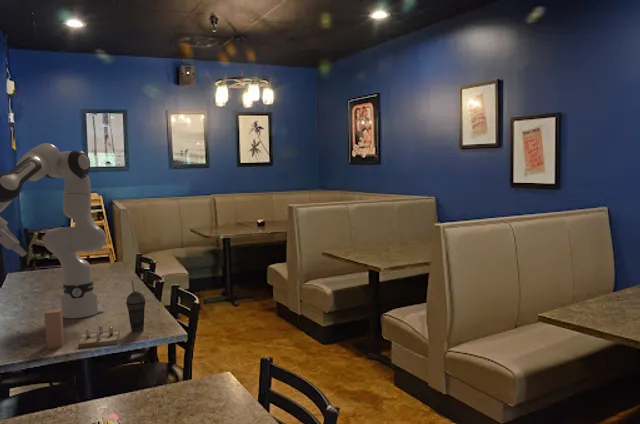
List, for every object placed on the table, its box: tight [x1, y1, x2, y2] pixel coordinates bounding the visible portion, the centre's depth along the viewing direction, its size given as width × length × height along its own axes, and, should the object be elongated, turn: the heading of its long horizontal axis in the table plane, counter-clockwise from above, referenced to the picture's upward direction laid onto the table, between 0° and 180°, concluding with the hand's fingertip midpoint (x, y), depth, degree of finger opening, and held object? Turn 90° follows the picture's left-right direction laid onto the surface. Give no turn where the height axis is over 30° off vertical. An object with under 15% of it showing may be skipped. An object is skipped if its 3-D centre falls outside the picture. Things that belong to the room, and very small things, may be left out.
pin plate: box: [78, 324, 121, 349], centre depth 196 cm, size 13×13×4 cm
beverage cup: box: [125, 280, 146, 334], centre depth 206 cm, size 7×7×20 cm
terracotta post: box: [43, 307, 66, 350], centre depth 191 cm, size 5×5×13 cm
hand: (25, 255), depth 191 cm, fingers open, 8 cm apart
